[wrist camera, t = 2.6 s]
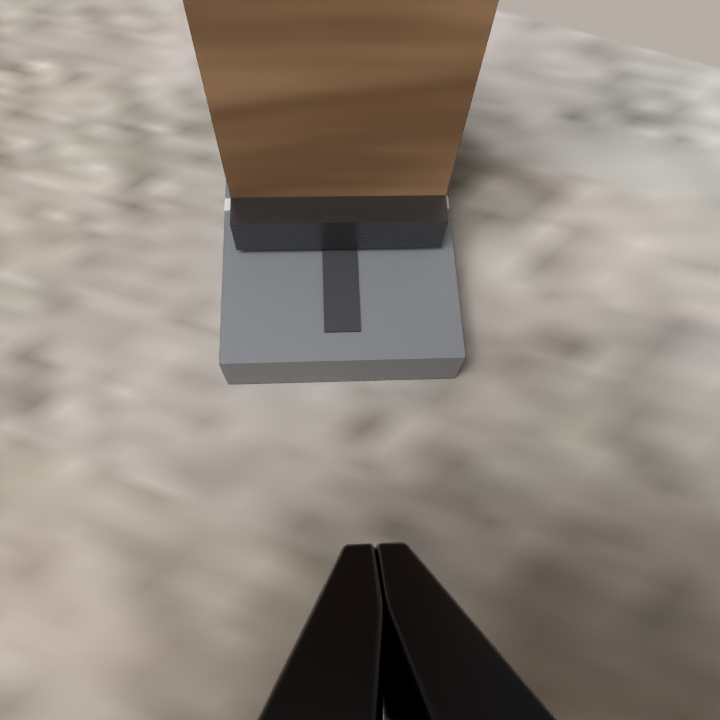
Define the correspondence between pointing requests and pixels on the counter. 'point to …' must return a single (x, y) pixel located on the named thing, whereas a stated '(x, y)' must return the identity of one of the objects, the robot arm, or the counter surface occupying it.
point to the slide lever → (339, 115)
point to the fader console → (339, 313)
